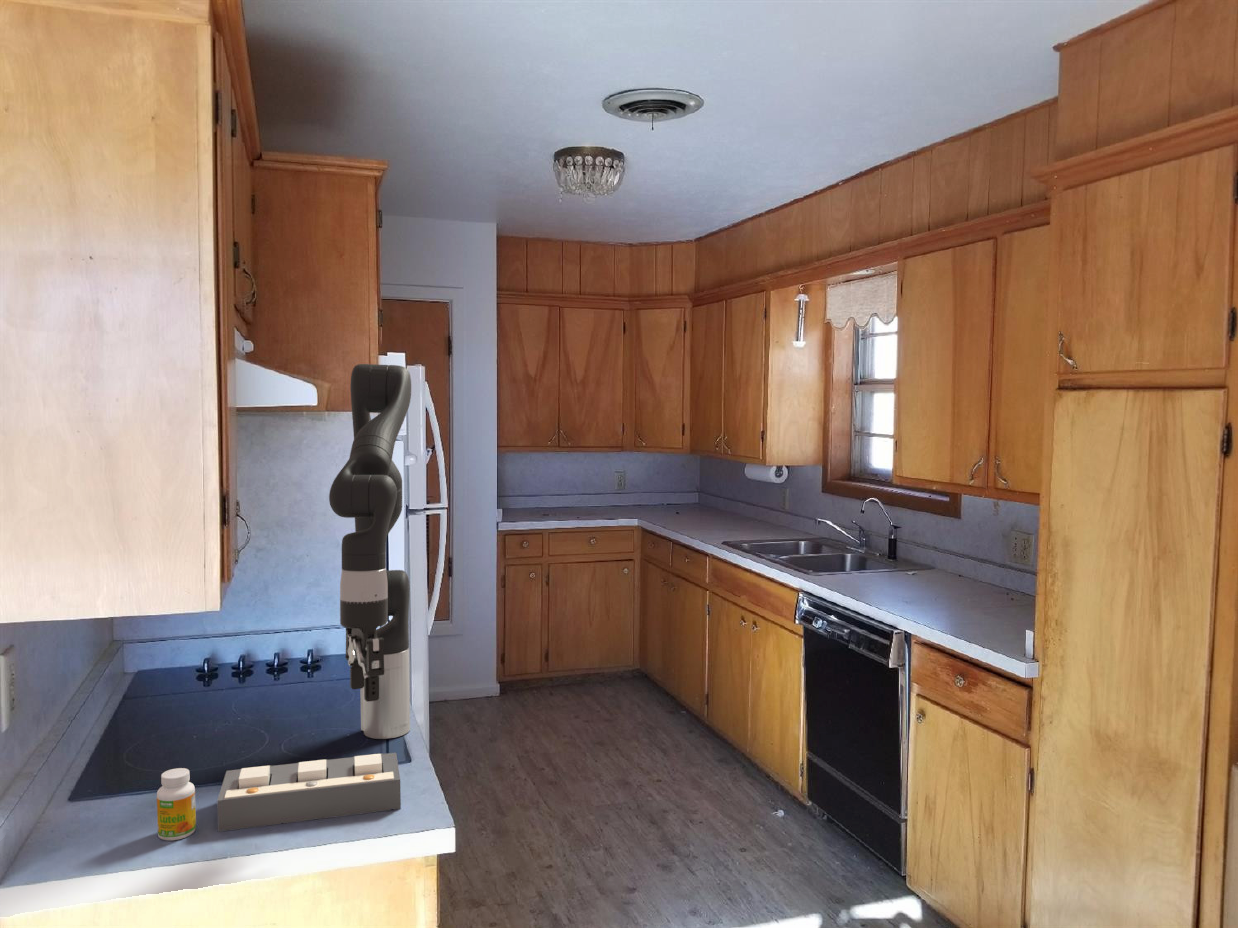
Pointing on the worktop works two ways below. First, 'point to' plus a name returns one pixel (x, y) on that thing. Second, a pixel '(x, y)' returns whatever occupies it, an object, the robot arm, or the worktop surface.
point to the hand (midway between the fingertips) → (364, 694)
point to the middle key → (312, 770)
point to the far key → (368, 764)
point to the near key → (254, 777)
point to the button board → (308, 795)
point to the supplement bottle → (176, 805)
